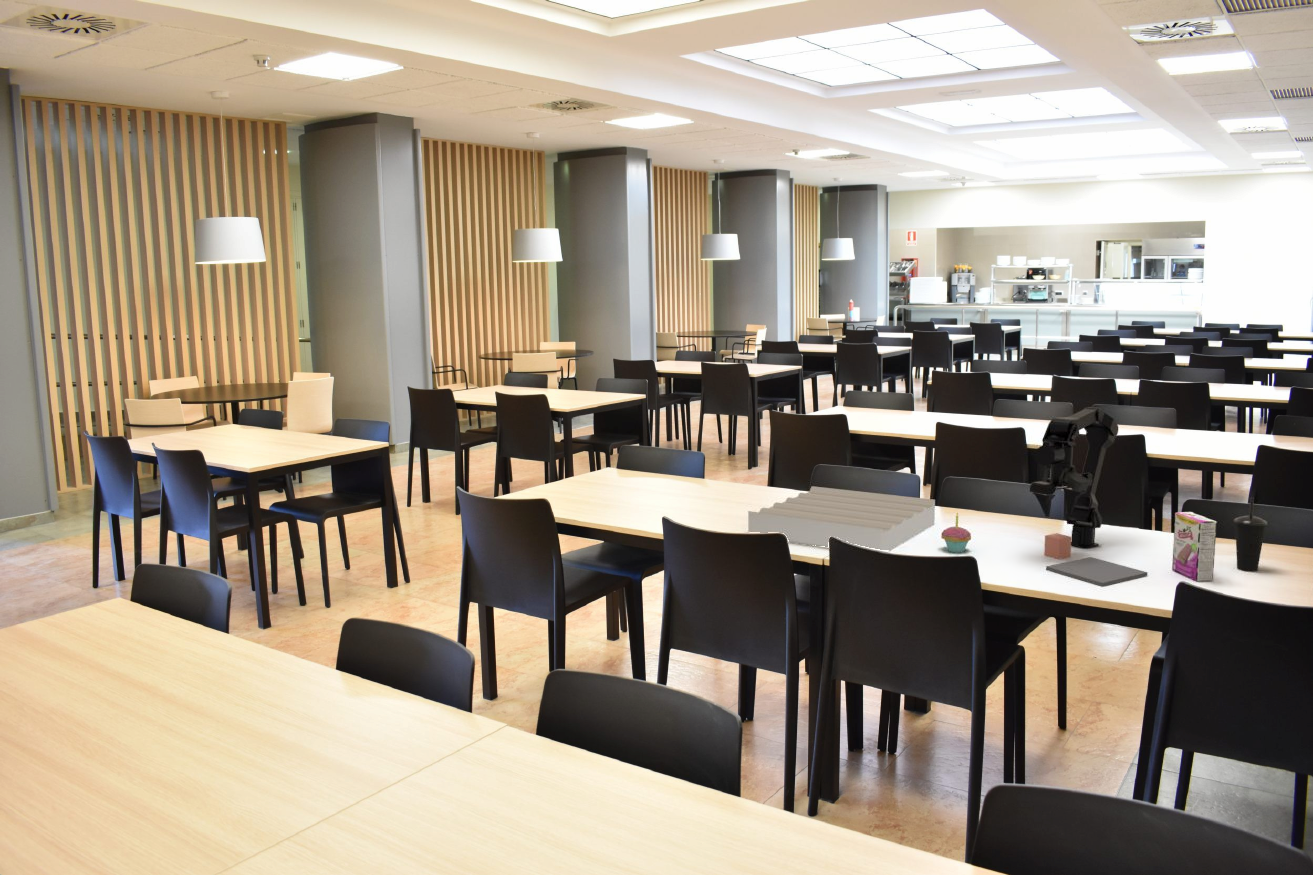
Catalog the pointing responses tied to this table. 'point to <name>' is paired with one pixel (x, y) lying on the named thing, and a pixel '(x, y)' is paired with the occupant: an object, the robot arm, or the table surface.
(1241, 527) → the drinking cup
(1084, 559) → the mat
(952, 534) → the cupcake
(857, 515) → the tray
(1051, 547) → the red block
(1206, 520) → the candy bar box
